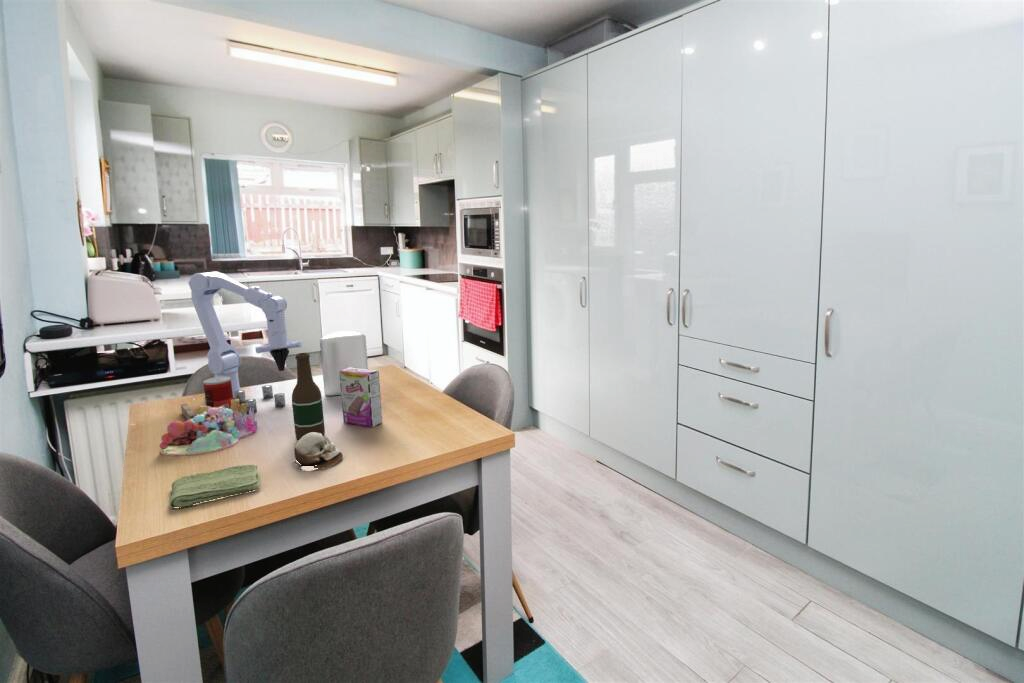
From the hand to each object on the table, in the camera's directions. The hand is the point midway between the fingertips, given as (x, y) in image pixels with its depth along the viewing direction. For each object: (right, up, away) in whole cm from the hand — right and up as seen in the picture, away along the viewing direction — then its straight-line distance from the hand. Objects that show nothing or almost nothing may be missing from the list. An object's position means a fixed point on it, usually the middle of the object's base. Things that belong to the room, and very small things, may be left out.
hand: (281, 370), depth 189 cm
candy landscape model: (-5, -18, -34) cm, 39 cm away
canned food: (-14, -13, -12) cm, 23 cm away
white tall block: (+21, -8, +9) cm, 25 cm away
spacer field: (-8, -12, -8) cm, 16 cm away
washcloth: (+14, -24, -66) cm, 72 cm away
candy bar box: (+35, -15, -26) cm, 46 cm away
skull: (+31, -20, -53) cm, 64 cm away
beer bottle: (+24, -17, -36) cm, 47 cm away
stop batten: (-21, -14, -18) cm, 31 cm away
